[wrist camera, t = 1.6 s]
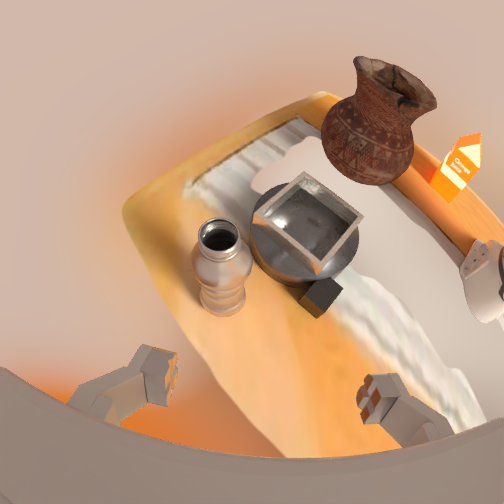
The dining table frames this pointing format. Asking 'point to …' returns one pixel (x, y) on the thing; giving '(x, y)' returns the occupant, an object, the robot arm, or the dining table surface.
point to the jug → (376, 123)
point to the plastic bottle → (221, 266)
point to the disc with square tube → (305, 239)
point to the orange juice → (458, 167)
